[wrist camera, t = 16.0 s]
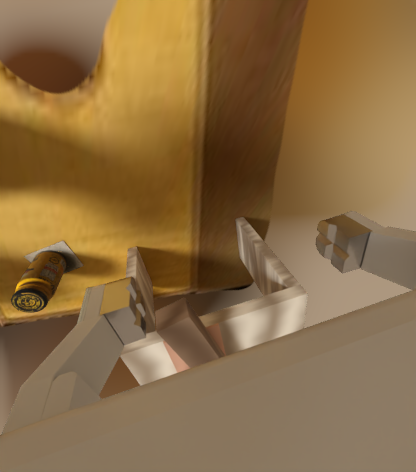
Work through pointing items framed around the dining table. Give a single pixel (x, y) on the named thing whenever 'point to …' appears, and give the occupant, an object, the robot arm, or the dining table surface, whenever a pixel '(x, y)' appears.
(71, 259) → the condiment
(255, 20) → the dining table surface
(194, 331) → the bar
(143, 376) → the shelf
